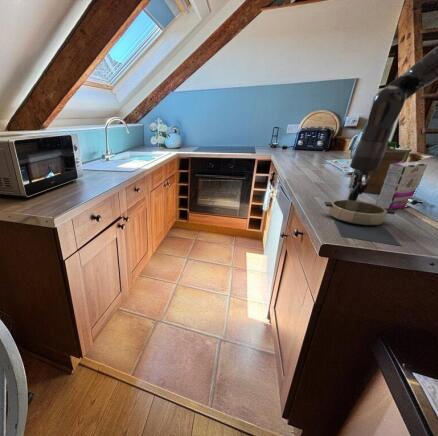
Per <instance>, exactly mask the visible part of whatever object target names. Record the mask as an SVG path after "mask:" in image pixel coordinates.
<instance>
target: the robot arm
mask: <svg viewBox="0 0 438 436" xmlns="http://www.w3.org/2000/svg"><path fill="white" fill-rule="evenodd" d="M437 80H438V45H437V46H436V47H434V48H433V49H431V50H430V51H429V52H428V53H427V54H425V55H424V56H423V57H422V58H420V59H419V60H418V61H416V63H414V64H413V65H412V66H410V68H408V70H406V71H405V72H404V73H402V74H401V75H399V76H398V77H397V78H395V79H394V80H393V81H391V82H390V83H389V84H387V85H386V86H385V87H383V88H382V89H380V90H379V91H378V92H377V93H376V94H375V95H374V96H373V99H372V105H371V109H370V112H369V115H368V117H367V118H368V119H367V121H366V123H365V125H364V126H363V129H362V132H361V135H360V138H359V140H358V143H357V144H356V146H355V150H354V153H353V155H352V159H351V161H350V163H349V164H350V165H349V167H350V168H351V169H352V170H355V169H356V170H355V173H354V172H352V173H351V175H350V181H349V186H350V187H348V189H349V194H348V197H347V199H346V200H354V201H358V197H359V195H362V194H363V193H364V192H363V191H364V190H365V189H366V187H367V186H368V185H369V183H367V181H368V180H369V177H370V176H369V172H370V171H376V170H378V169H379V166H380V164H381V161H382V159H383V156H384V154H385V151H386V148H387V144H388V141H390V138H391V136H392V133H393V130H394V126H395V123H396V121H397V120H398V118H399V116H400V113H401V112H402V110H403V107H404V105H405V103H406V101H407V100H408V99H409V98H411V97H413V96H414V95H415V94H416V93H418V92H419V91H420V90H421V89H423V88H425V87H427V86H429V85H431V84H433V83H434V82H435V81H437Z"/></svg>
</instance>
